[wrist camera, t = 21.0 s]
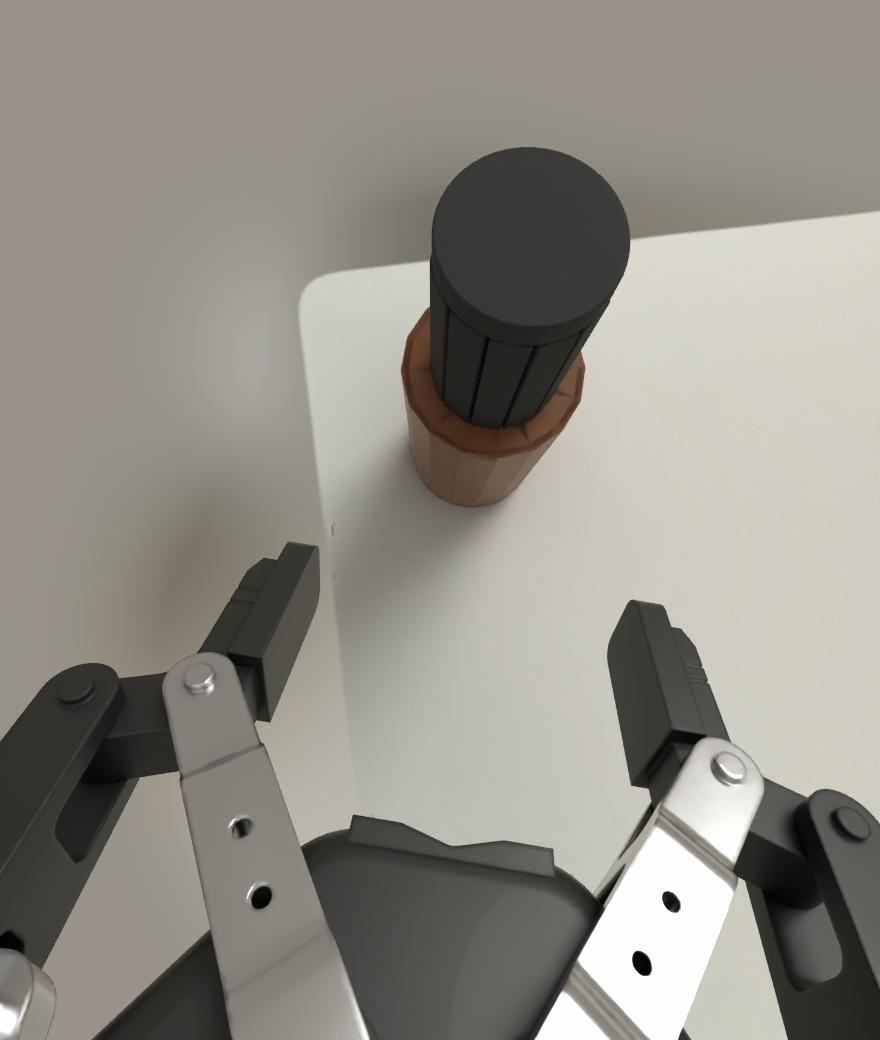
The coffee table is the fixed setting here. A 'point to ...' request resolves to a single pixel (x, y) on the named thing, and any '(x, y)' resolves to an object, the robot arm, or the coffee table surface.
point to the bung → (519, 280)
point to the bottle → (475, 433)
